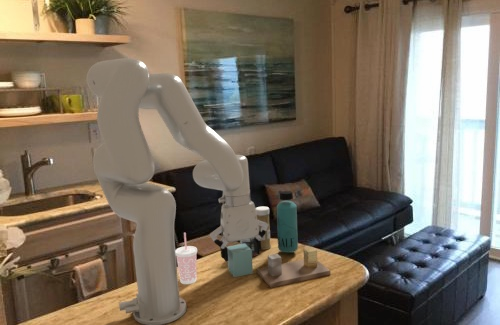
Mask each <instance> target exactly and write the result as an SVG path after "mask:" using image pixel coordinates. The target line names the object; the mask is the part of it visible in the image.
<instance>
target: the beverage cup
mask: <svg viewBox="0 0 500 325" xmlns="http://www.w3.org/2000/svg"><path fill="white" fill-rule="evenodd" d="M183 239H184V246H181V247H178V248H175V253H176V264H177V271H178V275H179V282H180V283H181V284H183V285H191V284H194V283H196V282H197V278H198V276H197V275H198V273H197V272H198V270H197V269H198V267H197V253H198V248H197V247H196V246H193V245H187V233H186V232H183Z"/></svg>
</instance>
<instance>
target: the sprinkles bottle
mask: <svg viewBox="0 0 500 325" xmlns="http://www.w3.org/2000/svg"><path fill="white" fill-rule="evenodd" d="M255 209H256V214H257V220H260V221H263V222H266V223H267V224H268V228H267V230H266V233H265V235H264V236H263V237H262V240H261V250H262V251H263V250H264V251H265V250H269V249H271V247H272V246H271V230H270V228H271V226H270V225H271V224H270V208H269V207H268V206H258V207H255ZM258 227H259V231H260V230H261V228H262V226H259V225H258Z"/></svg>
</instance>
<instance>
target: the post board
mask: <svg viewBox="0 0 500 325" xmlns="http://www.w3.org/2000/svg"><path fill="white" fill-rule="evenodd" d="M256 274H257V275H258V276H260V278H261V279H262V280H263V281H264V282H265V284H267V285H268V287H270V288H276V287H280V286H284V285H289V284H294V283H298V282H302V281H307V280H312V279H316V278H320V277H325V276H330V275H331V270H330V269H329V268H328V267H326V266H325V265H324V264H323V263H321V262H320V261H319V260H317V267H315V268H310V269H308V268H307V267H306V266H304V258H303V259H299V260H294V261H289V262H284V263H282V257H281V255H279V254H278V253H274V254H270V255H269V254H268V255H267V266H265V267H258V268H256Z"/></svg>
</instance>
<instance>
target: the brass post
mask: <svg viewBox="0 0 500 325" xmlns="http://www.w3.org/2000/svg"><path fill="white" fill-rule="evenodd" d="M303 259H304V266H306V267H307V268H308V269H310V268H315V267H317V261H318V250H317V249H316V248H315V247H313V246H309V247H306V248H303Z"/></svg>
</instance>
